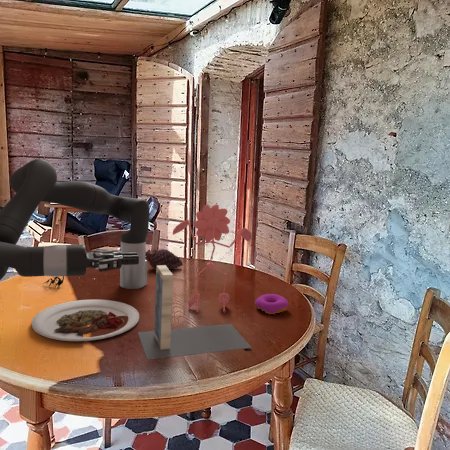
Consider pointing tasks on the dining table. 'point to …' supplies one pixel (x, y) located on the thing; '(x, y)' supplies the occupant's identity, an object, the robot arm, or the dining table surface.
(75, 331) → the plated food
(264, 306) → the donut
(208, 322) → the dining table surface
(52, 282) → the creature
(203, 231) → the figurine
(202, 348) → the rubber mat
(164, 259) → the pine cone
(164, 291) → the birch picture frame
